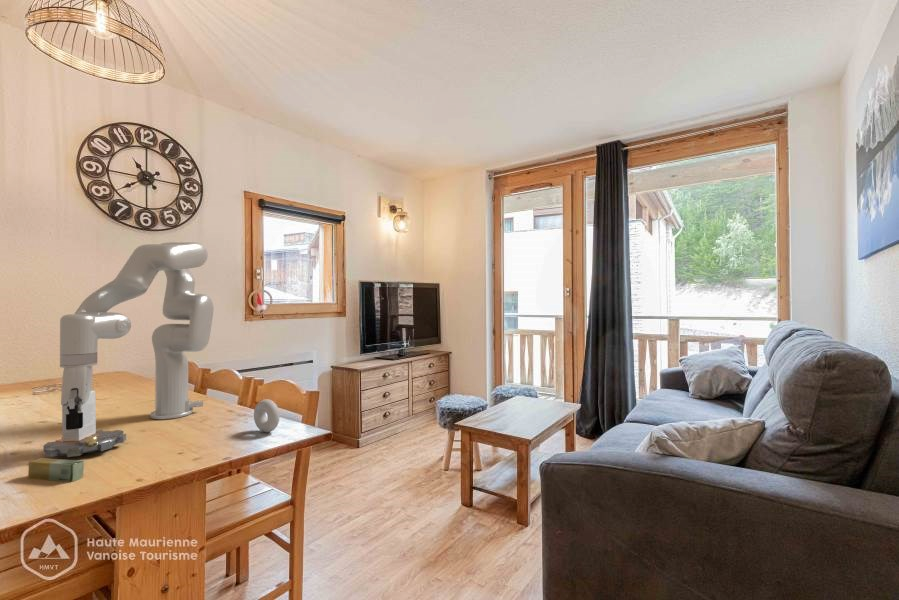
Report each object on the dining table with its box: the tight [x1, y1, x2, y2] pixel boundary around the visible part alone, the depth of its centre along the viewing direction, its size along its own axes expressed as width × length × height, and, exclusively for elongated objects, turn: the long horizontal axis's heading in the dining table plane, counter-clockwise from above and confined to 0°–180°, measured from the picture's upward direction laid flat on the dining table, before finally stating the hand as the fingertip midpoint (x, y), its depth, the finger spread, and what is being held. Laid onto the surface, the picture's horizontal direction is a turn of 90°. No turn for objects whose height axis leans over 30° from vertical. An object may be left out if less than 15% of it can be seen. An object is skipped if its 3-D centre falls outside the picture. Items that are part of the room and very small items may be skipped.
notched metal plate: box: [42, 429, 127, 458], centre depth 109 cm, size 16×16×4 cm
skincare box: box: [61, 390, 97, 441], centre depth 111 cm, size 6×4×12 cm
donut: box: [253, 398, 281, 433], centre depth 126 cm, size 10×4×10 cm, turn 60°
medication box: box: [27, 457, 85, 483], centre depth 93 cm, size 12×3×4 cm, turn 81°
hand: (78, 423), depth 110 cm, fingers open, 9 cm apart
